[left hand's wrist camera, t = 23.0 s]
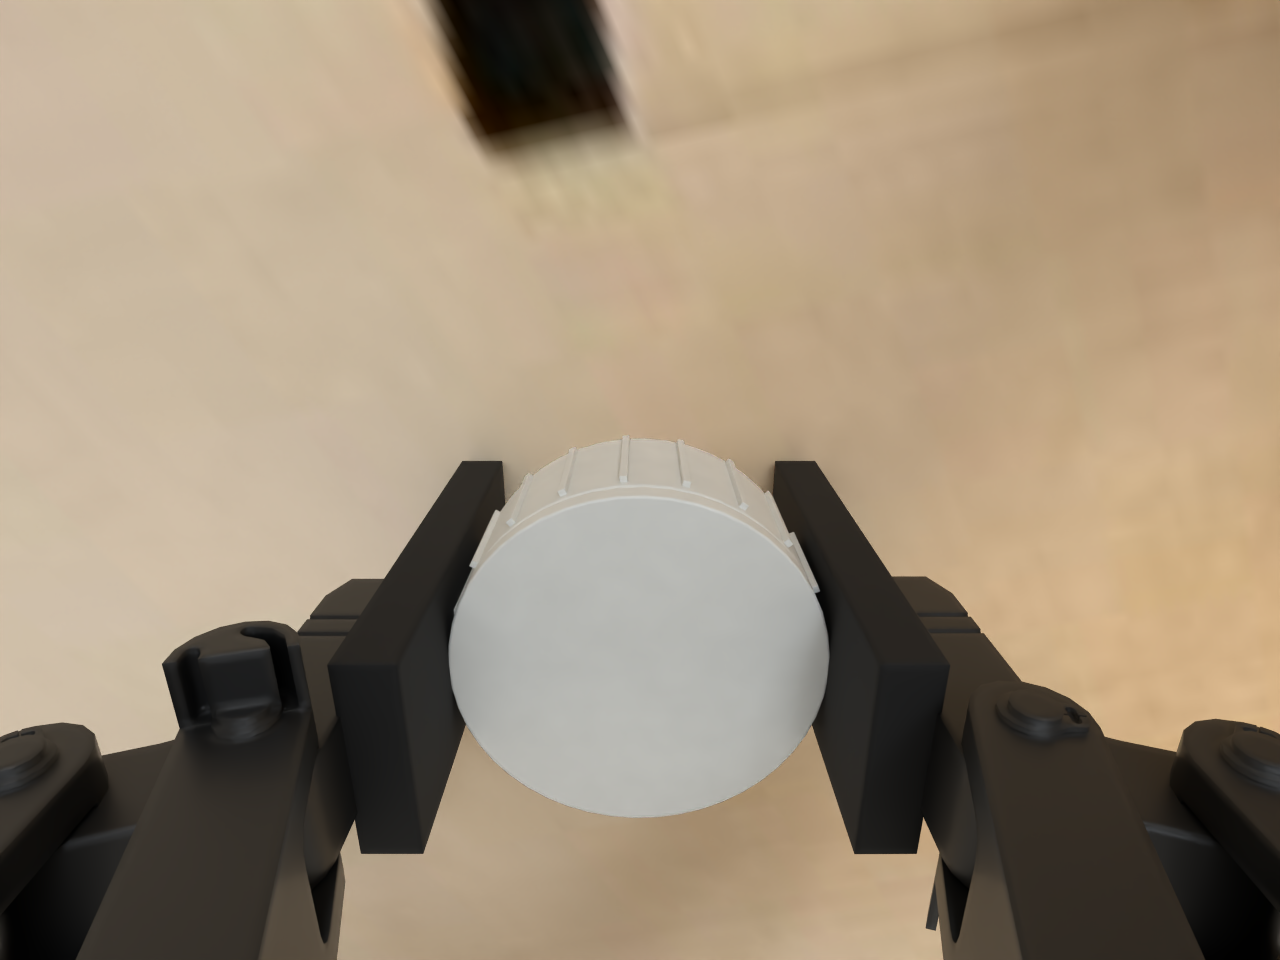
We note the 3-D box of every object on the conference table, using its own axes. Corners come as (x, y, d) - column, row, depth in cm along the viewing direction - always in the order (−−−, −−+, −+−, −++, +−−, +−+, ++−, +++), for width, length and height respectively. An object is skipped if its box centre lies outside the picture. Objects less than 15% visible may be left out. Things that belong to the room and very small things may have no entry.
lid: (435, 474, 12) (386, 541, 9) (769, 399, 11) (802, 450, 9) (531, 740, 14) (509, 849, 11) (821, 684, 13) (858, 786, 11)
